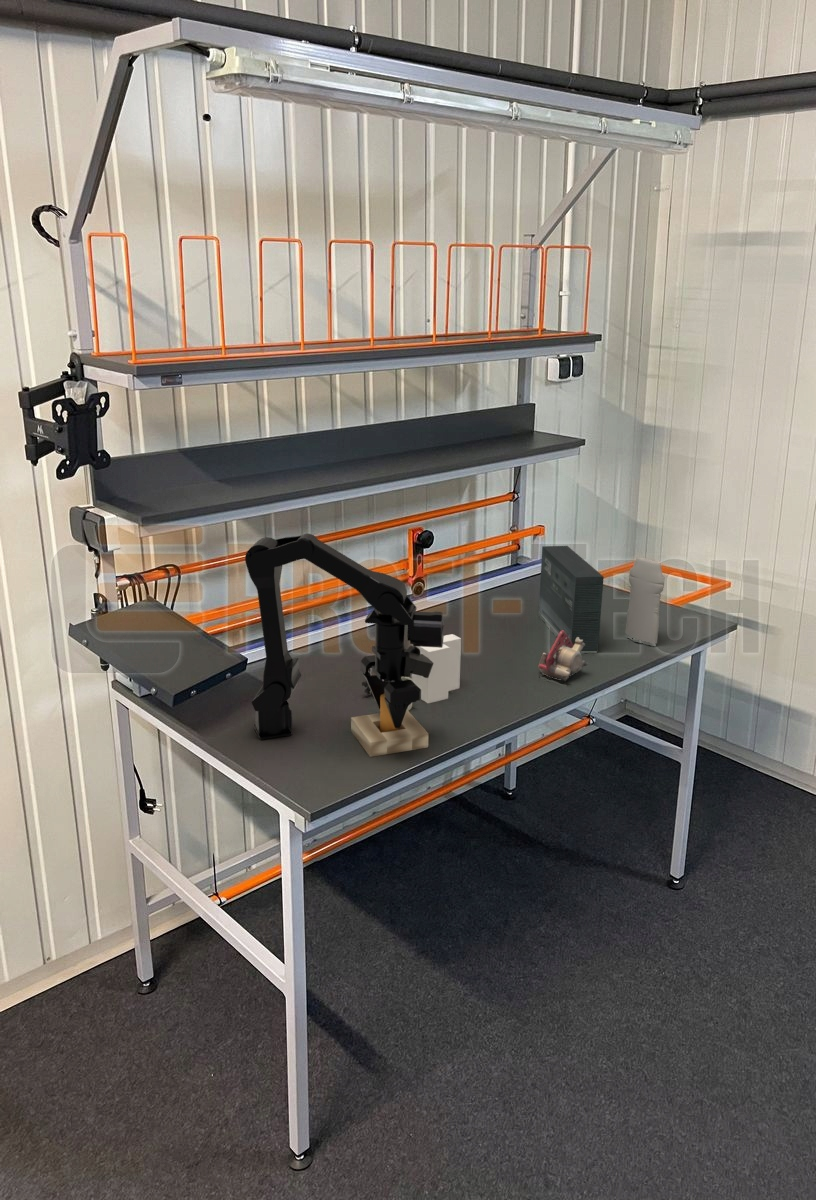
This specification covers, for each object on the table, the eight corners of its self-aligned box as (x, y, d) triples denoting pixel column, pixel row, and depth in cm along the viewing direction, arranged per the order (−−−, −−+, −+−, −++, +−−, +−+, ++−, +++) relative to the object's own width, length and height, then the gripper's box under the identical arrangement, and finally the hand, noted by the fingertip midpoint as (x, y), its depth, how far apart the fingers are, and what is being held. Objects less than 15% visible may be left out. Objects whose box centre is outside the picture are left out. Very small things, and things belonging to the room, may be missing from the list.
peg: (383, 743, 189) (384, 701, 187) (377, 735, 193) (377, 694, 190) (400, 740, 191) (401, 698, 188) (394, 732, 194) (394, 691, 191)
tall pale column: (619, 637, 249) (626, 555, 243) (629, 634, 252) (636, 553, 245) (652, 649, 242) (660, 564, 235) (662, 645, 244) (671, 562, 237)
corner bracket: (427, 703, 208) (429, 651, 205) (400, 685, 217) (401, 635, 214) (467, 693, 214) (469, 643, 210) (439, 676, 223) (440, 627, 219)
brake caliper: (549, 651, 232) (577, 621, 225) (578, 687, 229) (608, 657, 221) (521, 664, 224) (550, 633, 217) (551, 701, 221) (581, 671, 213)
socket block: (370, 756, 184) (370, 742, 183) (351, 730, 195) (350, 717, 194) (428, 747, 188) (428, 733, 187) (406, 722, 199) (406, 709, 198)
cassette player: (597, 653, 238) (603, 576, 232) (570, 654, 237) (575, 577, 231) (562, 615, 266) (567, 545, 259) (538, 616, 265) (542, 546, 258)
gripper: (447, 655, 180) (445, 731, 185) (411, 624, 196) (410, 694, 201) (391, 663, 176) (391, 740, 181) (359, 630, 193) (359, 701, 197)
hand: (389, 717), depth 190 cm, fingers open, 9 cm apart
